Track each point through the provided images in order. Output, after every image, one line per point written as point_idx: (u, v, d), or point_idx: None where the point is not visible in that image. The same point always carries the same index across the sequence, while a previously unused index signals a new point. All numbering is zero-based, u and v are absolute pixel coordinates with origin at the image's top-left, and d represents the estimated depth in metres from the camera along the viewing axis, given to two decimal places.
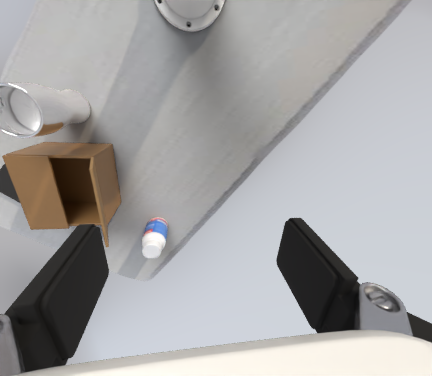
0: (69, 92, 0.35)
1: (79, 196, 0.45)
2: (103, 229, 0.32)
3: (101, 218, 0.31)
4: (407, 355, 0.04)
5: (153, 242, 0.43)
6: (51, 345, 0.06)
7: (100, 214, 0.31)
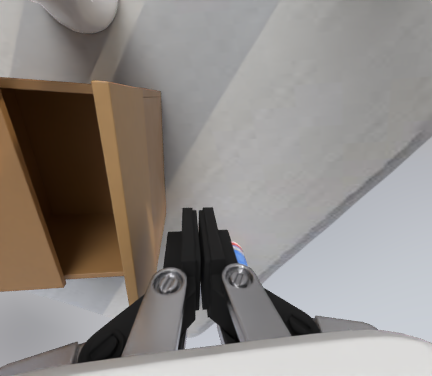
0: None
1: (87, 203, 0.23)
2: None
3: None
4: (407, 355, 0.04)
5: None
6: None
7: (132, 296, 0.08)
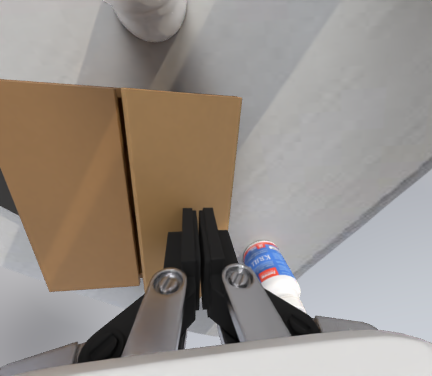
0: None
1: None
2: None
3: (142, 264, 0.10)
4: (407, 355, 0.04)
5: (294, 300, 0.21)
6: None
7: (141, 253, 0.10)
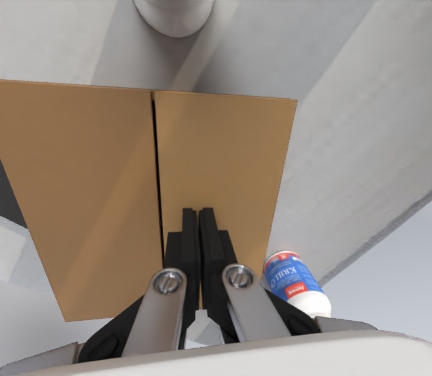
0: None
1: None
2: None
3: (164, 245, 0.12)
4: (407, 355, 0.04)
5: None
6: None
7: None
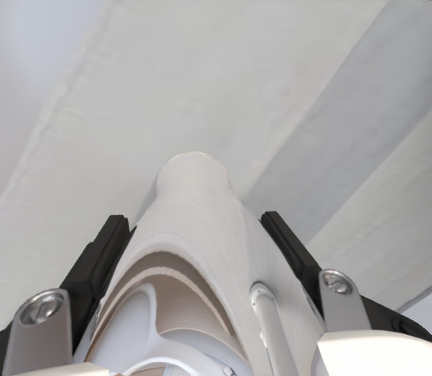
0: (210, 167, 0.14)
1: None
2: None
3: None
4: (407, 355, 0.04)
5: None
6: None
7: None
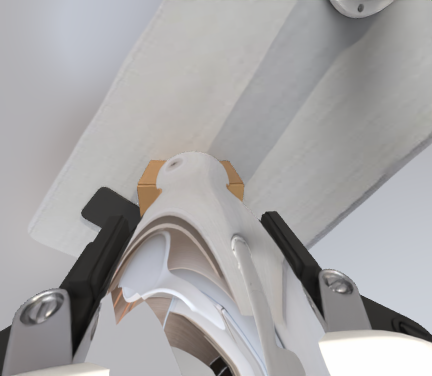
0: (209, 167, 0.14)
1: None
2: None
3: None
4: (407, 355, 0.04)
5: None
6: None
7: None
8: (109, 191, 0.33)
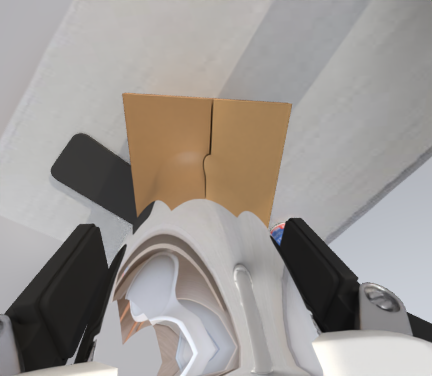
0: (207, 165, 0.14)
1: None
2: None
3: None
4: (407, 355, 0.04)
5: None
6: (51, 345, 0.06)
7: None
8: (88, 139, 0.24)
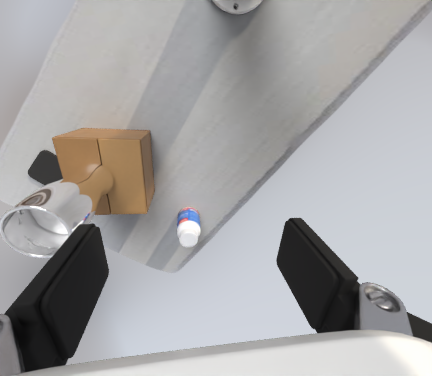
0: (92, 170, 0.31)
1: None
2: None
3: None
4: (407, 355, 0.04)
5: (190, 230, 0.43)
6: (51, 345, 0.06)
7: None
8: (49, 154, 0.41)
